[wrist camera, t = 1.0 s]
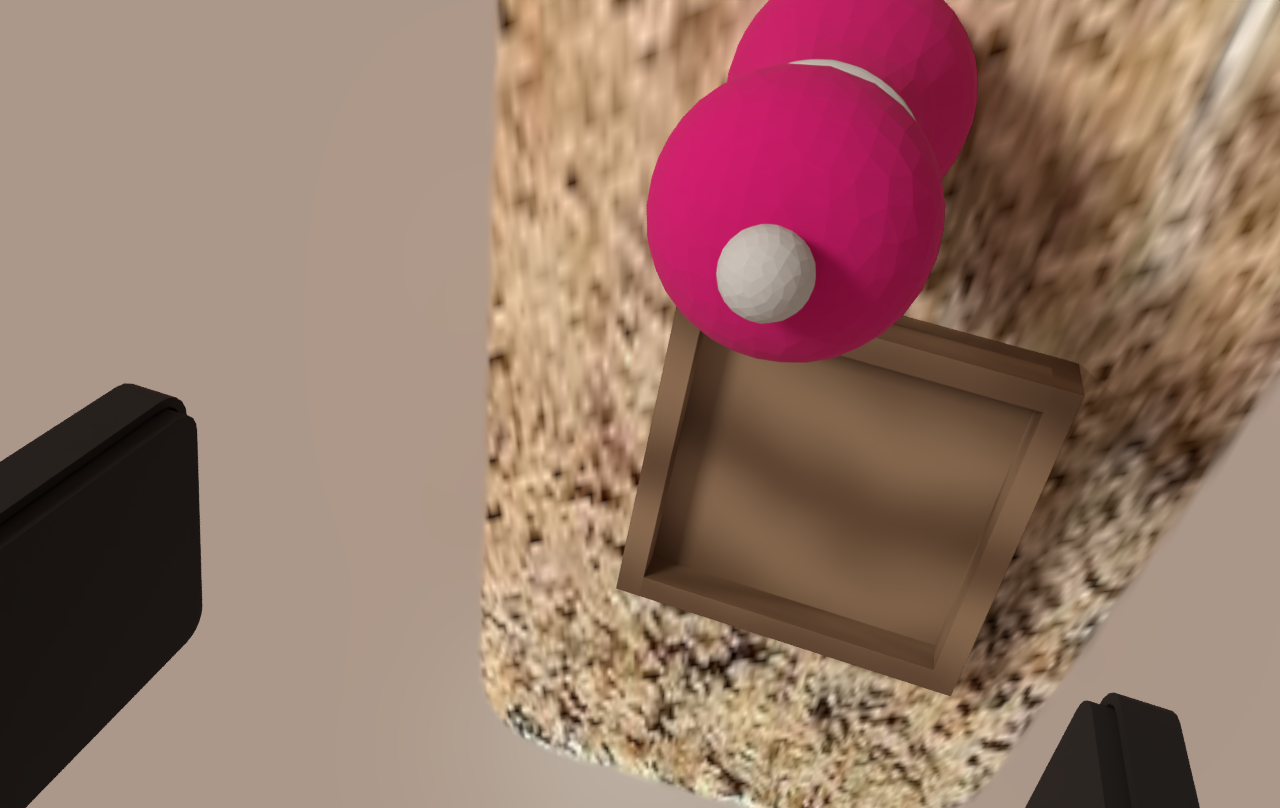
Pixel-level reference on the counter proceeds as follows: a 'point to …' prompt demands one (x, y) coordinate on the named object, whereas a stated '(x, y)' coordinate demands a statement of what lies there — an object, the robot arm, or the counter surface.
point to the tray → (847, 491)
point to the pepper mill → (814, 176)
